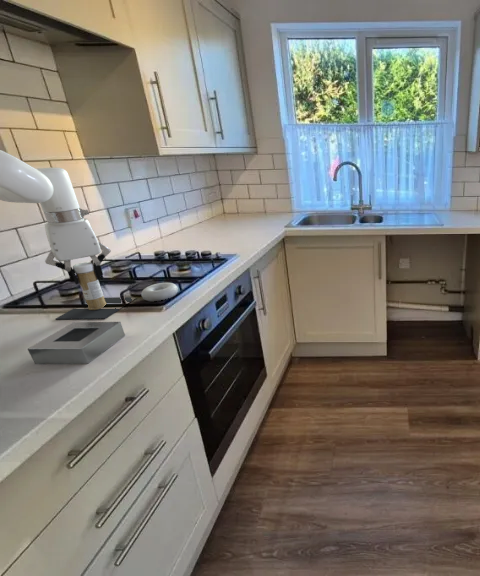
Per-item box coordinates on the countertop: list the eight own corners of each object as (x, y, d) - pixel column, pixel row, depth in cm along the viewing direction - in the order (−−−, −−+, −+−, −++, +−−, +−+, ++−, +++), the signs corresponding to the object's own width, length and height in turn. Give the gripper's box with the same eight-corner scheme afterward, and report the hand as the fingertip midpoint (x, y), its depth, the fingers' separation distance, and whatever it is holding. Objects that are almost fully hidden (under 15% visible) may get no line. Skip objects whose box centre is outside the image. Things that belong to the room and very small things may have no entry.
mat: (55, 319, 100) (55, 318, 100) (94, 298, 113) (93, 297, 113) (104, 319, 100) (104, 318, 100) (137, 298, 113) (137, 297, 113)
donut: (138, 298, 113) (149, 306, 107) (135, 287, 112) (145, 295, 106) (172, 288, 120) (184, 295, 114) (170, 278, 119) (181, 285, 112)
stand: (34, 364, 80) (27, 348, 79) (78, 335, 92) (72, 322, 90) (87, 363, 80) (81, 348, 79) (125, 335, 91) (120, 321, 90)
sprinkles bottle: (85, 308, 106) (69, 265, 100) (103, 302, 109) (88, 260, 104) (93, 312, 103) (76, 267, 98) (110, 306, 107) (95, 263, 102)
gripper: (101, 210, 104) (120, 269, 111) (21, 220, 93) (48, 285, 100) (105, 213, 99) (125, 275, 106) (21, 224, 88) (50, 292, 95)
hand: (88, 279), depth 103 cm, fingers closed on sprinkles bottle, 4 cm apart
